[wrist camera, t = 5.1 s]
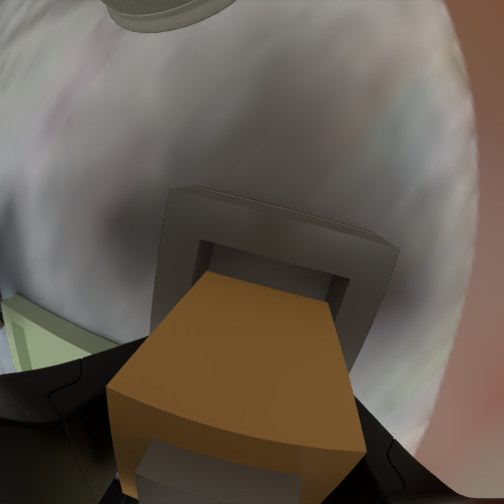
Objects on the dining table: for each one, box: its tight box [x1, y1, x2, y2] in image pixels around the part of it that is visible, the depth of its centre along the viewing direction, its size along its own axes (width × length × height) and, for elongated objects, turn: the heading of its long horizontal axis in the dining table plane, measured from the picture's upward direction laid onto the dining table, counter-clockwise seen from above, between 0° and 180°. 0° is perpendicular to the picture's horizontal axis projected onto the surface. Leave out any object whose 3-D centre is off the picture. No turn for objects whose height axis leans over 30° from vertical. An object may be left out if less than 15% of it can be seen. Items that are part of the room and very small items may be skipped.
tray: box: [1, 294, 120, 372], centre depth 16 cm, size 11×11×2 cm
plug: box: [106, 271, 367, 504], centre depth 7 cm, size 4×4×7 cm
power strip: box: [149, 187, 400, 375], centre depth 13 cm, size 16×8×3 cm, turn 167°
